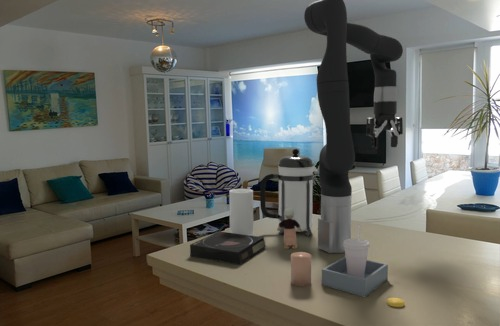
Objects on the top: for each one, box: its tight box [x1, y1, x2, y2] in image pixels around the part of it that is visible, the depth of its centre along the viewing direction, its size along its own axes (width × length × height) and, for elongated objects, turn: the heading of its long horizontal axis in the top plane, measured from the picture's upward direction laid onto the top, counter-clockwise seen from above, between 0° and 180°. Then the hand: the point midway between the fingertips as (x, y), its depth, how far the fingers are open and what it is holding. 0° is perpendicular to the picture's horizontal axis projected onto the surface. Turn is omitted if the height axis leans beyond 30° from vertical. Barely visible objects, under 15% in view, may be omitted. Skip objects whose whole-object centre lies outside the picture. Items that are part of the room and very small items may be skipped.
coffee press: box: [259, 148, 319, 237], centre depth 148 cm, size 17×16×30 cm
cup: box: [228, 188, 254, 236], centre depth 145 cm, size 8×8×16 cm
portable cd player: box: [189, 231, 266, 266], centre depth 127 cm, size 16×17×4 cm
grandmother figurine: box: [276, 208, 303, 249], centre depth 131 cm, size 8×4×13 cm, turn 94°
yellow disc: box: [386, 297, 405, 308], centre depth 91 cm, size 4×4×1 cm
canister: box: [290, 251, 312, 287], centre depth 103 cm, size 5×5×7 cm
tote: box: [321, 255, 389, 298], centre depth 103 cm, size 13×11×4 cm
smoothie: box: [343, 224, 371, 279], centre depth 103 cm, size 6×6×14 cm
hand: (384, 147), depth 145 cm, fingers open, 8 cm apart
